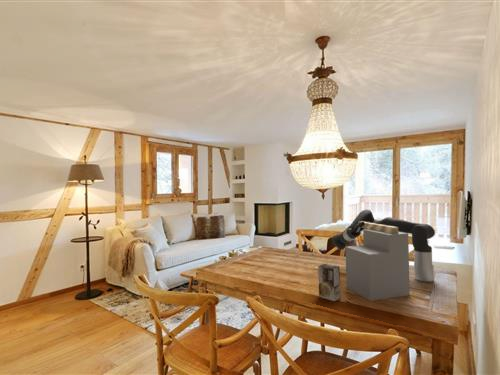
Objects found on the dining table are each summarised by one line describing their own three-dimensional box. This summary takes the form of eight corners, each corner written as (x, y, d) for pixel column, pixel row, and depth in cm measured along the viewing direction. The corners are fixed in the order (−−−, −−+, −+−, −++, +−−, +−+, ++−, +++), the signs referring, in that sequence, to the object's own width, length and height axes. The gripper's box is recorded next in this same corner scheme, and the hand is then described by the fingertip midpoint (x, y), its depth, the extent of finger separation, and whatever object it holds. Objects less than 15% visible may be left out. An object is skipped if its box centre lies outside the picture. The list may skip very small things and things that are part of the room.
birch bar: (358, 226, 171) (358, 221, 171) (363, 226, 172) (362, 221, 172) (393, 233, 144) (393, 227, 144) (398, 233, 145) (398, 226, 145)
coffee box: (340, 298, 142) (340, 266, 142) (334, 301, 138) (333, 269, 138) (324, 293, 149) (324, 263, 149) (318, 296, 144) (317, 265, 144)
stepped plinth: (346, 287, 157) (345, 230, 157) (381, 282, 163) (380, 228, 164) (370, 300, 138) (369, 236, 138) (409, 295, 144) (408, 233, 144)
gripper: (362, 238, 181) (378, 228, 166) (343, 239, 177) (358, 229, 162) (358, 227, 184) (374, 216, 170) (340, 228, 180) (354, 217, 166)
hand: (366, 222), depth 166 cm, fingers closed on birch bar, 3 cm apart
